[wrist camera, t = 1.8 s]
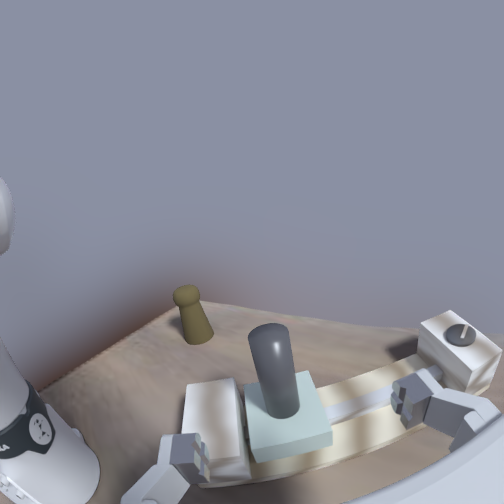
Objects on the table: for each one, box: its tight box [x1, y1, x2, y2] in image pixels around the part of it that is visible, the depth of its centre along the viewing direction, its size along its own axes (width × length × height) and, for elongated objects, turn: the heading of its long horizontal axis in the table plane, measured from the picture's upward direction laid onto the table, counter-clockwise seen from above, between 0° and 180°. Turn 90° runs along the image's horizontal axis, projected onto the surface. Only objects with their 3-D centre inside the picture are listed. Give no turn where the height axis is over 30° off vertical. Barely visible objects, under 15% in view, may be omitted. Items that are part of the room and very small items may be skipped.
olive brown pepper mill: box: [173, 285, 214, 345], centre depth 54 cm, size 6×6×11 cm
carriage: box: [244, 323, 333, 463], centre depth 27 cm, size 8×10×14 cm
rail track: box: [182, 310, 503, 488], centre depth 28 cm, size 38×12×7 cm, turn 95°
